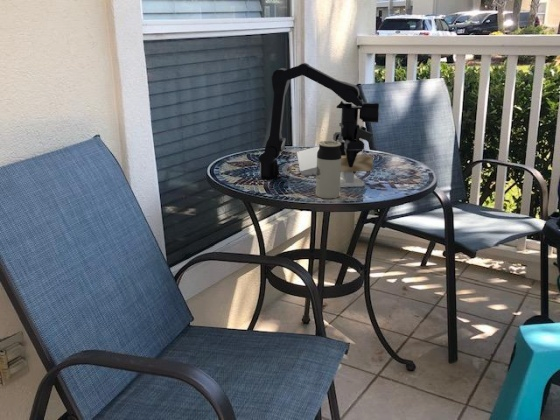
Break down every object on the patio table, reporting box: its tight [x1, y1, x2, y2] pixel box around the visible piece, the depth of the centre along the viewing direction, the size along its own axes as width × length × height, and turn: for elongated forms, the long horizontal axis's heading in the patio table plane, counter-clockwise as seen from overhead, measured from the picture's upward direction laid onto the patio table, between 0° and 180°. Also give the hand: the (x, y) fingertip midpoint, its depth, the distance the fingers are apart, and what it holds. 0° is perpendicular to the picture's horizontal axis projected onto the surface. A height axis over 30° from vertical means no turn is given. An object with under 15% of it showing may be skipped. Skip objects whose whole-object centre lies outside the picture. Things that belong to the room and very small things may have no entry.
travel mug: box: [315, 140, 341, 200], centre depth 188 cm, size 8×8×18 cm
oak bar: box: [341, 154, 374, 172], centre depth 206 cm, size 18×4×5 cm, turn 99°
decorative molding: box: [296, 145, 319, 176], centre depth 233 cm, size 34×5×10 cm
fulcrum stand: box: [340, 171, 366, 188], centre depth 207 cm, size 10×12×4 cm
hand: (347, 164), depth 206 cm, fingers open, 9 cm apart
